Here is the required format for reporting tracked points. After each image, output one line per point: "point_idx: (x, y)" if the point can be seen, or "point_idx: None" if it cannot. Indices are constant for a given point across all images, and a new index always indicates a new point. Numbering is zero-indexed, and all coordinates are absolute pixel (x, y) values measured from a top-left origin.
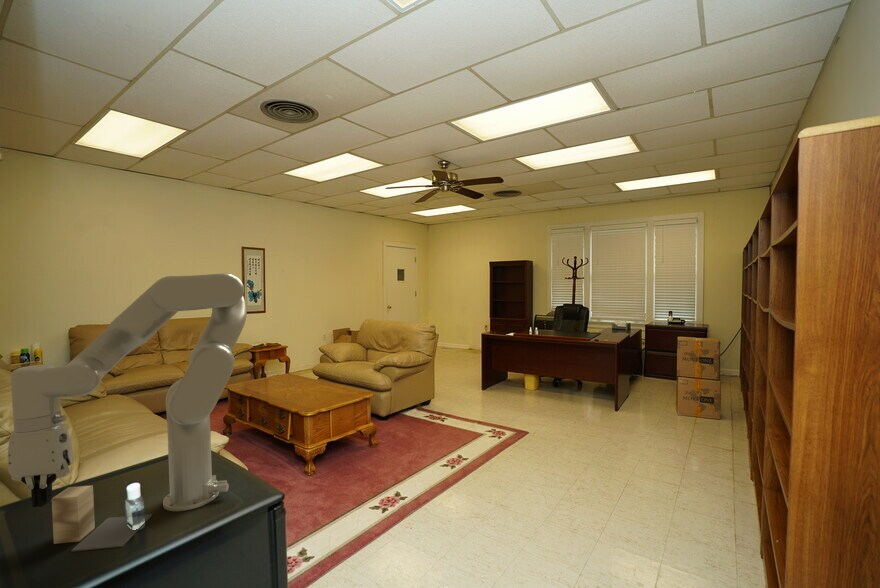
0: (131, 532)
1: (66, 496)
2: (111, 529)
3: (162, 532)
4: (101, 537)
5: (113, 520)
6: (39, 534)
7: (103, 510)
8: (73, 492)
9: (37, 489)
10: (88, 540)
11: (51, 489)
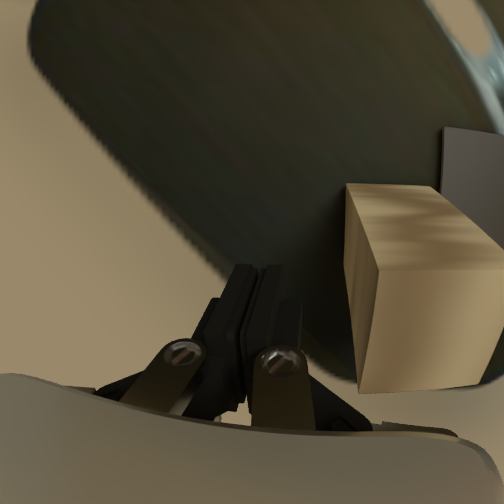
0: None
1: (427, 381)
2: (489, 219)
3: None
4: None
5: (472, 153)
6: (235, 186)
7: (371, 36)
8: (447, 345)
9: (241, 394)
10: None
11: (298, 339)
